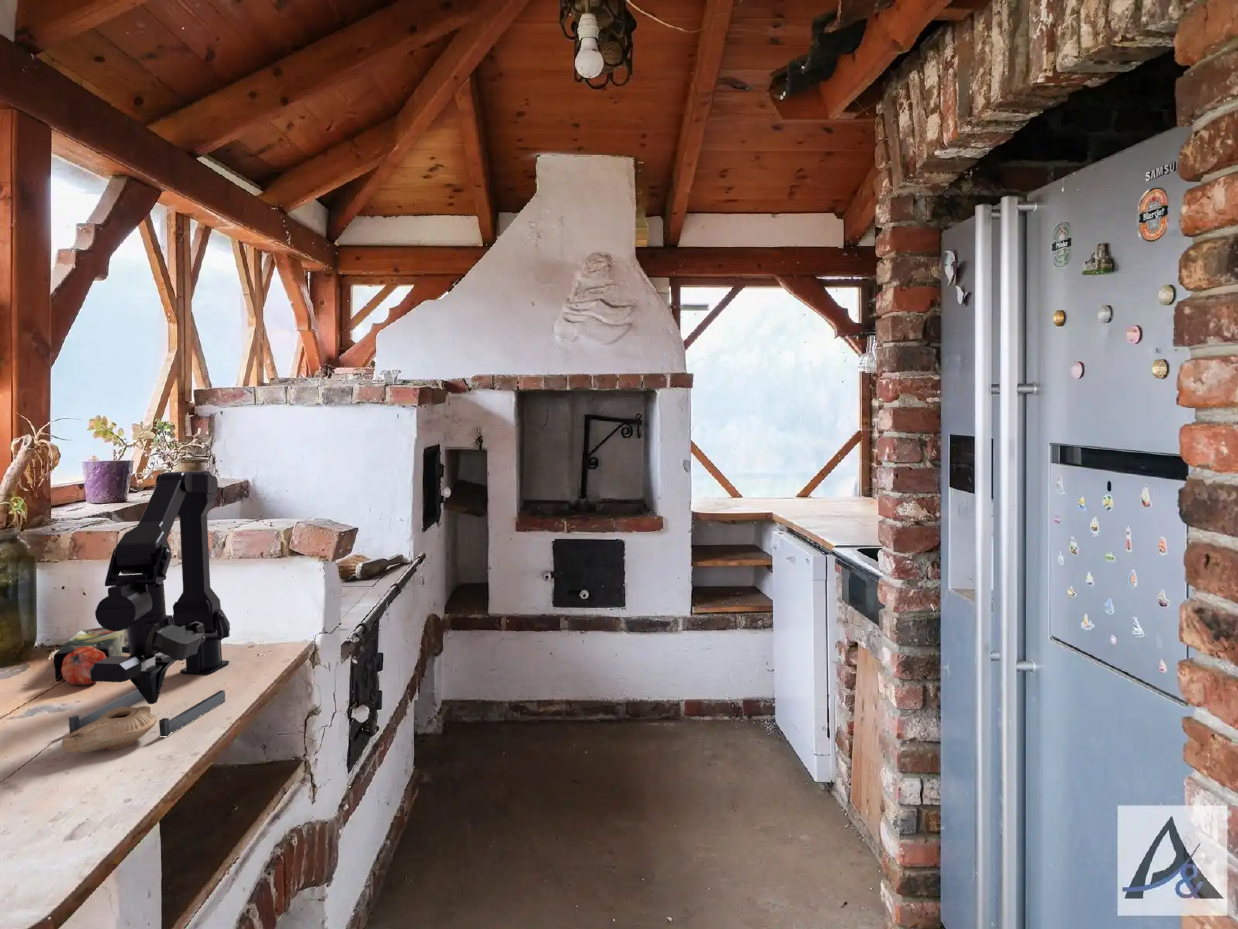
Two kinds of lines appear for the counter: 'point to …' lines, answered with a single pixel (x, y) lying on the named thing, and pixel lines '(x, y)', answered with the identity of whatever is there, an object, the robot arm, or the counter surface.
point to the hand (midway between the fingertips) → (152, 703)
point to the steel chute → (164, 724)
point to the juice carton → (92, 644)
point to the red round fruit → (80, 665)
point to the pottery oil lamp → (111, 730)
